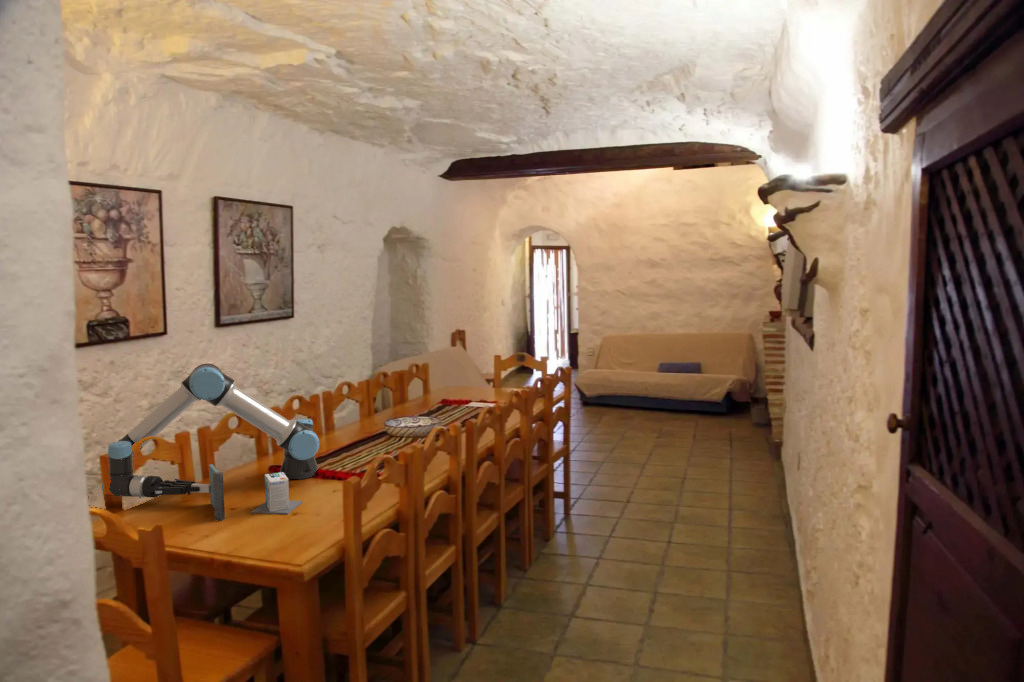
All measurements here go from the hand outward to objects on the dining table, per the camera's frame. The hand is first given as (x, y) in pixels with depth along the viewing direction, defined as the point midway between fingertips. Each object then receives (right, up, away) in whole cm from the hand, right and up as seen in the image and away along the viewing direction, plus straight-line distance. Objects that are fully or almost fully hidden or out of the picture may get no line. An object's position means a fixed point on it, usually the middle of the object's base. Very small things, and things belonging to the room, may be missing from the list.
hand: (209, 488), depth 253 cm
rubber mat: (+24, -7, 0) cm, 25 cm away
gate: (+4, -7, -3) cm, 8 cm away
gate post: (+9, -8, -12) cm, 17 cm away
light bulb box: (+24, -6, 0) cm, 25 cm away
